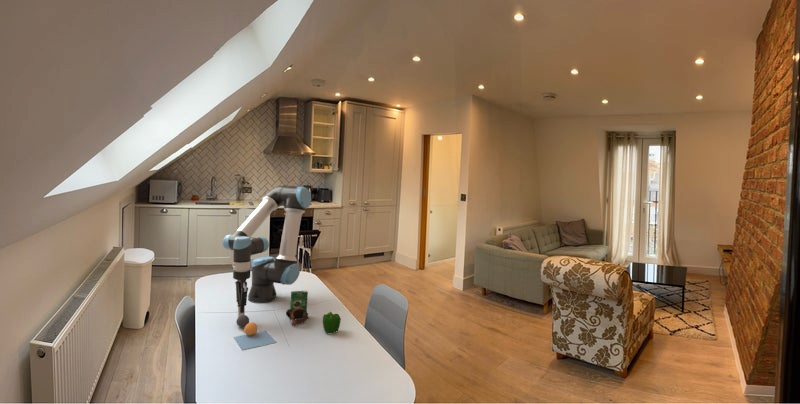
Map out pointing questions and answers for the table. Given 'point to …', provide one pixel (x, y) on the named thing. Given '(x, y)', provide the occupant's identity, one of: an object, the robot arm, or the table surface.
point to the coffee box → (299, 300)
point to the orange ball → (251, 329)
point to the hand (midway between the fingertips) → (241, 318)
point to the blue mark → (254, 340)
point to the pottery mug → (297, 316)
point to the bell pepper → (331, 322)
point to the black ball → (242, 320)
